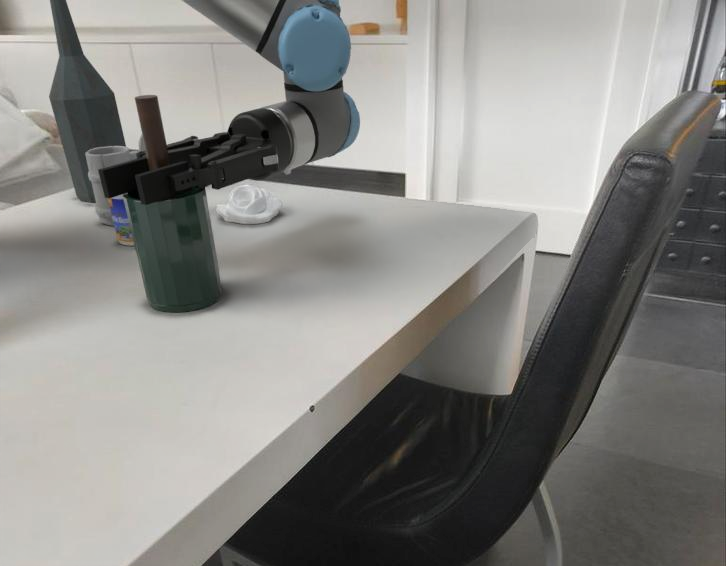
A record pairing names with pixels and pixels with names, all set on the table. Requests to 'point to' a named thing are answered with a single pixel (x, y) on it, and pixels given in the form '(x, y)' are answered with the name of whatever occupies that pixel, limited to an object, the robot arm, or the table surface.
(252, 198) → the rose
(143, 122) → the brush
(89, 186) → the bottle
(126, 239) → the pill bottle
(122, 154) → the mug
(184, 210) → the dark green pencil cup
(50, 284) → the table surface
